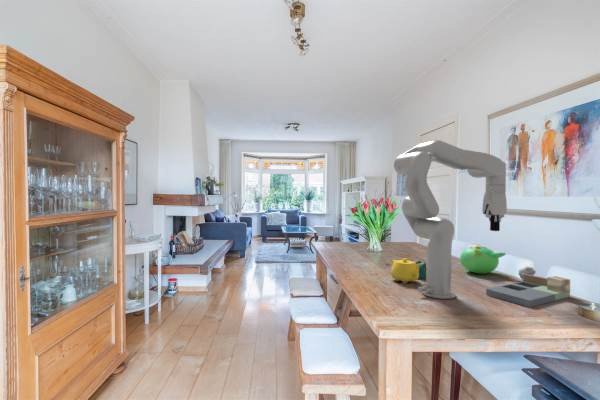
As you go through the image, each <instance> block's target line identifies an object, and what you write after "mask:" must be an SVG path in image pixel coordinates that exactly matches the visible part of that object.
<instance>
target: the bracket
mask: <svg viewBox="0 0 600 400" xmlns="http://www.w3.org/2000/svg"><path fill="white" fill-rule="evenodd" d="M412 262H415V263H416V265H417V264H420V266H419V278H418V279H420V280H426V261H425V262H424V261H421V260H414V261H412Z"/></svg>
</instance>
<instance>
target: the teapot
mask: <svg viewBox="0 0 600 400" xmlns="http://www.w3.org/2000/svg"><path fill="white" fill-rule="evenodd" d="M419 266H420V264H417V265H416V263H415V262H413V261H412V260H408V258H401V259H399V260H397V259H396V260H395V259H392V260H391V270H390V275H391V277H392V278H393V279H394V281H396V282H399V281H401V282H402V284H405V285H406V284H408V282H411V283H416V281H417V280H418V279H419Z"/></svg>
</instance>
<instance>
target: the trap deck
mask: <svg viewBox="0 0 600 400" xmlns="http://www.w3.org/2000/svg"><path fill="white" fill-rule="evenodd" d="M485 290H486V291H485V293H486V294H485V295H486V296H489V297H492V298H496V299H499V300H503V301H506V302H508V303H514V304H517V305H520V306H524V307H527V308H532V307H533V308H534V307H536V306H539V305H543V304H547V303H548V304H549V303H551V302H554V301H559V300H562V299H563V300H564V299H566V298H570V297H571V291H570V292H566V293H559V292H555V291H552V290H548V289H547V277H542V276H538V275H537V276H536V275H528V274H524V280H522V281H519V282H513V283H510V284H509V283H508V284H503V285H499V286H495V287H489V288H486V289H485Z"/></svg>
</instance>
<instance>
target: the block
mask: <svg viewBox="0 0 600 400" xmlns="http://www.w3.org/2000/svg"><path fill="white" fill-rule="evenodd" d="M546 278H547V289H548V290H552V291H555V292H559V293H566V292H570V293H571V278H565V277H562V276H557V275H556V276H547V277H546Z"/></svg>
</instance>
